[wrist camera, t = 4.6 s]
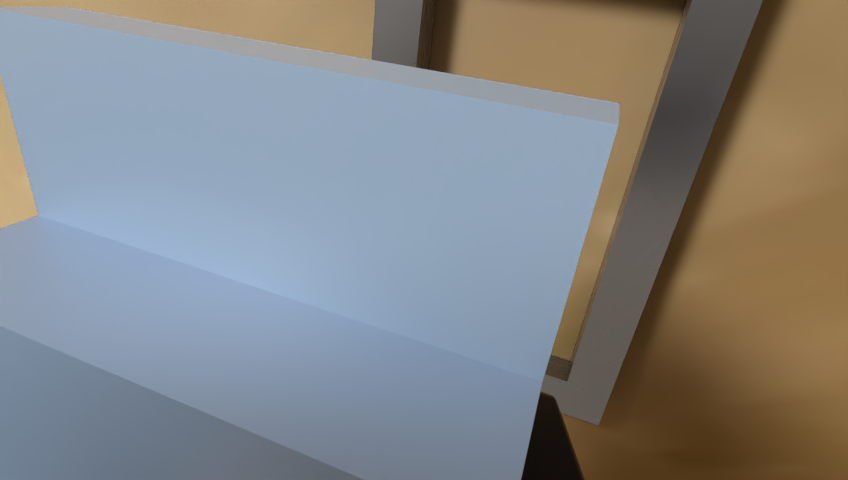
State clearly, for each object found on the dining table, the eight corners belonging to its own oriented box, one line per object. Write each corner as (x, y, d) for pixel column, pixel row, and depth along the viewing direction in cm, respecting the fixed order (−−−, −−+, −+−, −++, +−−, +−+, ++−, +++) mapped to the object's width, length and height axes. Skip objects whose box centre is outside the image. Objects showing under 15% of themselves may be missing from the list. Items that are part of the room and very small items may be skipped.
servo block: (621, 52, 6) (610, 320, 1) (483, 544, 11) (347, 1060, 5) (331, 9, 7) (-498, 3, 2) (320, 474, 12) (74, 849, 6)
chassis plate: (783, -85, 12) (802, -96, 11) (599, 403, 19) (598, 429, 18) (400, -114, 14) (379, -125, 13) (366, 326, 22) (351, 345, 20)
